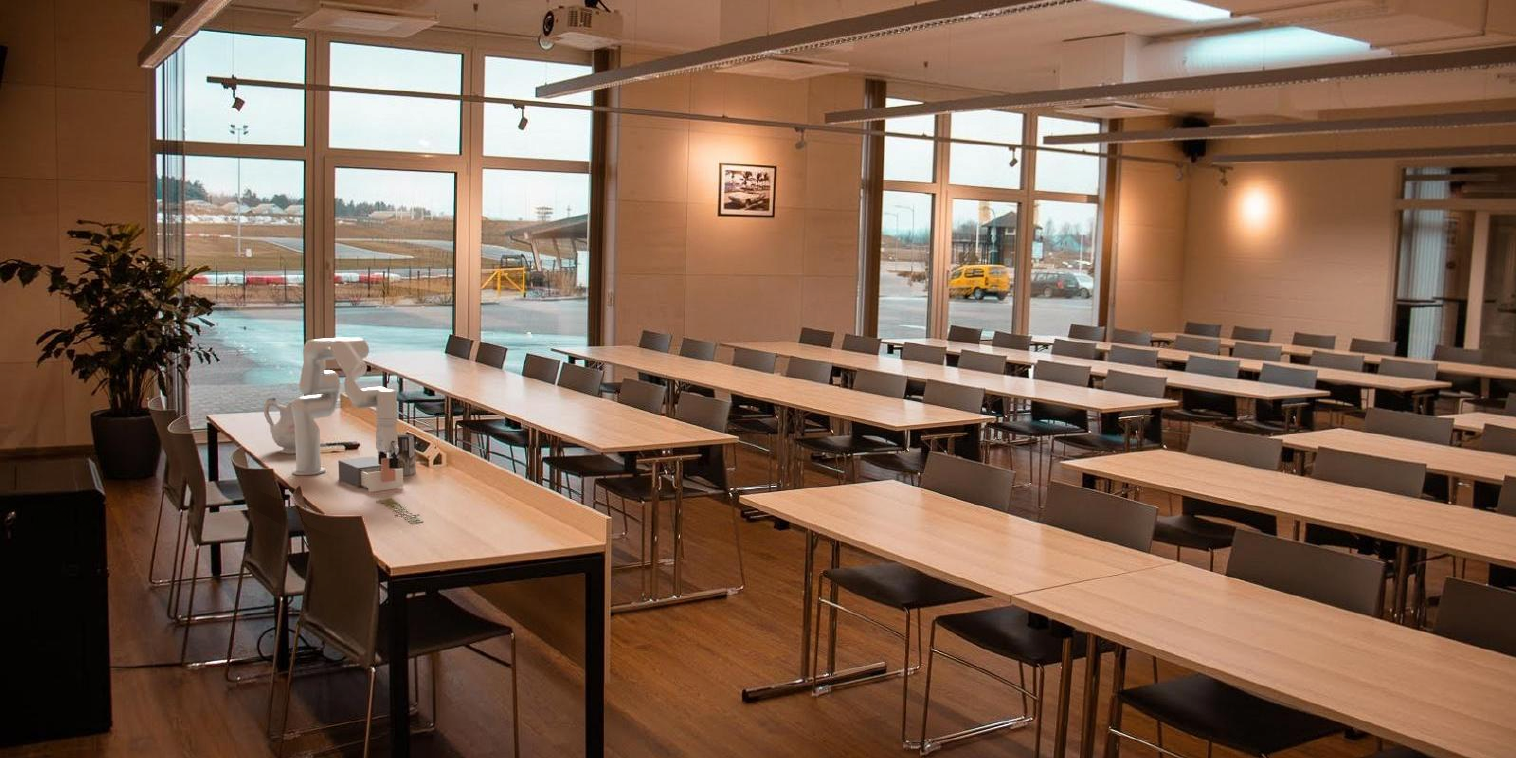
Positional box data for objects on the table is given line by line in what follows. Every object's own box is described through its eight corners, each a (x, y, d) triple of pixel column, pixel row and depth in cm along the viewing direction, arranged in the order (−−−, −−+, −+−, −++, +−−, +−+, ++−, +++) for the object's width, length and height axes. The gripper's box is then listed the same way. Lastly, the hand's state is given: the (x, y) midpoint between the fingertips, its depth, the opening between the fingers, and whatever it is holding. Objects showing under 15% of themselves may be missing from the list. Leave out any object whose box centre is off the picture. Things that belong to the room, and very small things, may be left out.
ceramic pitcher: (273, 459, 522) (273, 404, 517) (259, 449, 536) (259, 395, 532) (323, 454, 535) (323, 400, 531) (308, 444, 550) (308, 391, 545)
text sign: (396, 499, 447) (374, 502, 443) (396, 497, 447) (374, 499, 443) (428, 522, 414) (405, 525, 410) (428, 520, 414) (405, 523, 409)
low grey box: (339, 480, 478) (338, 460, 477) (373, 475, 487) (372, 456, 486) (358, 488, 464) (357, 468, 463) (392, 483, 473) (392, 463, 472)
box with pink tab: (350, 483, 470) (349, 451, 468) (383, 479, 479) (382, 448, 477) (372, 493, 454) (371, 460, 453) (406, 488, 463) (405, 456, 461)
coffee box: (416, 472, 494) (415, 433, 492) (410, 475, 488) (409, 436, 486) (394, 471, 495) (393, 433, 493) (388, 475, 489) (387, 436, 487)
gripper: (368, 419, 460) (369, 463, 462) (387, 426, 447) (388, 471, 449) (386, 418, 465) (388, 461, 467) (406, 424, 452) (407, 468, 454)
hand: (388, 466), depth 458 cm, fingers open, 9 cm apart
